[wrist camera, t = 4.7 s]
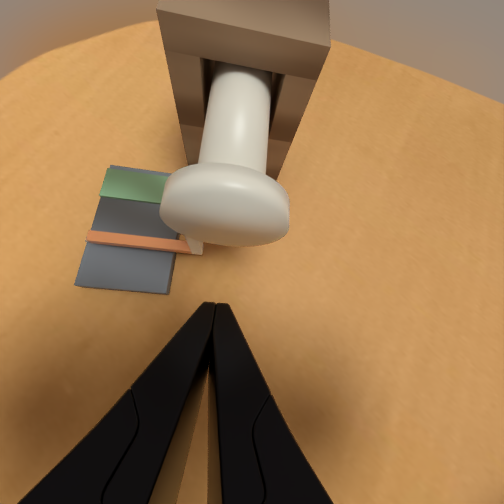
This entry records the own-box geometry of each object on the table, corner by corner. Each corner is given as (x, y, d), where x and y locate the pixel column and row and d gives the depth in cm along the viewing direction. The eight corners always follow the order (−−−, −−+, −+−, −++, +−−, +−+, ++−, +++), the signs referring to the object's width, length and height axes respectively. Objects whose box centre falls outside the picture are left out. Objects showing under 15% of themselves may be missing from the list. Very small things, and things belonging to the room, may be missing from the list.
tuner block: (265, 303, 15) (339, 277, 6) (82, 287, 13) (-199, 222, 4) (275, 137, 19) (327, -36, 10) (133, 113, 17) (38, -111, 8)
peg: (262, 264, 14) (309, 204, 7) (89, 246, 13) (-80, 151, 6) (271, 123, 17) (309, -21, 10) (133, 99, 16) (62, -82, 9)
